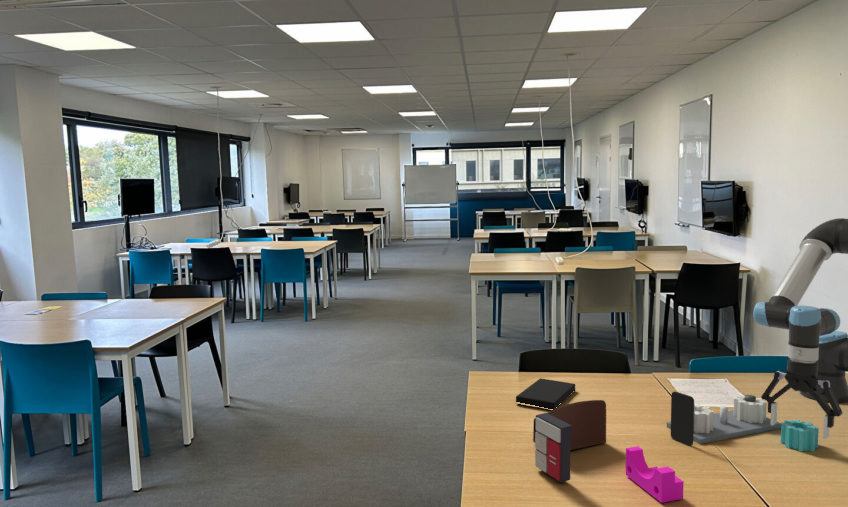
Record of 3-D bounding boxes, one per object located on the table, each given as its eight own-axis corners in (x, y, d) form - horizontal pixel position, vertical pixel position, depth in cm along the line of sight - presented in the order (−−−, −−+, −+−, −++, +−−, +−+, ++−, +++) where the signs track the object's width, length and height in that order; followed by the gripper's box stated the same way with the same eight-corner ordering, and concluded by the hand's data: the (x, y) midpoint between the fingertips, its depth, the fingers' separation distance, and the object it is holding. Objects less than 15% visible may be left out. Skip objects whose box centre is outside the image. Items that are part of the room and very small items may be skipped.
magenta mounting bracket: (683, 498, 147) (683, 469, 147) (661, 502, 146) (662, 473, 145) (645, 471, 162) (646, 444, 161) (625, 474, 160) (626, 448, 159)
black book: (515, 404, 215) (515, 396, 214) (539, 385, 234) (539, 378, 234) (553, 411, 207) (553, 402, 207) (575, 391, 226) (575, 383, 226)
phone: (670, 438, 182) (671, 390, 180) (671, 437, 182) (672, 390, 181) (691, 447, 176) (693, 397, 174) (693, 446, 176) (695, 397, 174)
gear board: (744, 412, 201) (745, 387, 200) (781, 428, 187) (782, 401, 186) (666, 426, 190) (667, 400, 190) (699, 444, 177) (700, 416, 176)
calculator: (533, 467, 165) (533, 415, 164) (545, 463, 167) (545, 412, 166) (559, 484, 156) (559, 428, 154) (572, 480, 158) (572, 425, 156)
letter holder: (606, 443, 180) (607, 397, 179) (551, 455, 173) (551, 408, 171) (586, 430, 189) (586, 387, 188) (532, 442, 182) (532, 397, 180)
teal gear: (796, 436, 181) (797, 417, 180) (825, 448, 172) (826, 428, 172) (773, 441, 178) (774, 421, 177) (801, 453, 169) (802, 433, 169)
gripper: (751, 353, 179) (748, 421, 181) (850, 371, 161) (845, 447, 163) (761, 349, 184) (757, 415, 186) (858, 366, 165) (853, 439, 168)
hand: (798, 430), depth 174 cm, fingers open, 13 cm apart
